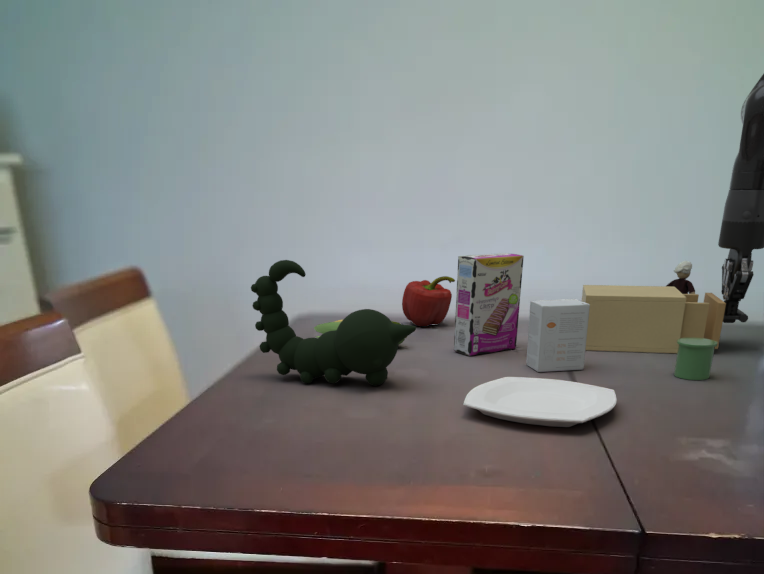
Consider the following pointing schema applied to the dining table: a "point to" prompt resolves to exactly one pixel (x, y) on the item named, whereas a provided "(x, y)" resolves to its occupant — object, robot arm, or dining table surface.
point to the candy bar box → (487, 303)
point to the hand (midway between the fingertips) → (727, 322)
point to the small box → (557, 335)
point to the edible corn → (335, 327)
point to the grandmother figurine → (683, 278)
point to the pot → (694, 358)
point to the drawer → (706, 317)
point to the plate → (541, 401)
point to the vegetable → (426, 301)
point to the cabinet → (634, 318)
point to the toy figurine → (326, 337)
